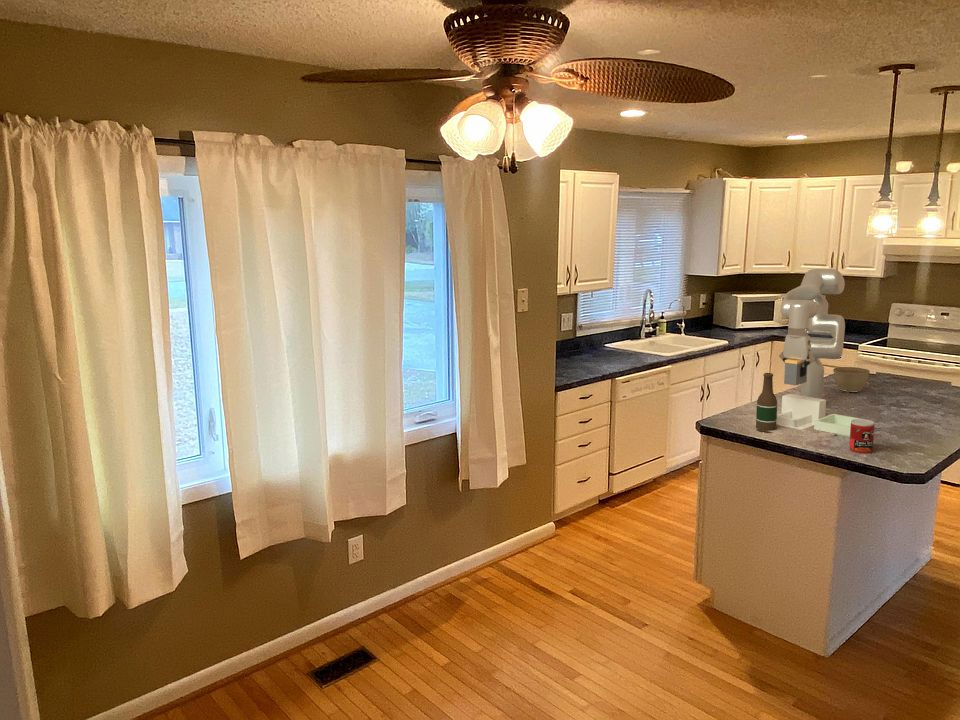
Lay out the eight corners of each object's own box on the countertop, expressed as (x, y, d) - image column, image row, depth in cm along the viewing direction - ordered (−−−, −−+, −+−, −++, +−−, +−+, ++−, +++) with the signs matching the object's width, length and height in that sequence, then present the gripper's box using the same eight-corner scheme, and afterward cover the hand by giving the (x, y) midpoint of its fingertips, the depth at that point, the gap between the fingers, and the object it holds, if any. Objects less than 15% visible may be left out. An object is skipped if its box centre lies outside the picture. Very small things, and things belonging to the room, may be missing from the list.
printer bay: (788, 415, 303) (789, 393, 301) (824, 422, 290) (826, 399, 289) (764, 424, 290) (765, 401, 289) (801, 432, 278) (803, 408, 276)
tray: (832, 424, 288) (832, 413, 287) (867, 430, 277) (868, 419, 277) (813, 431, 278) (814, 420, 277) (849, 438, 267) (850, 427, 267)
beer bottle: (780, 431, 280) (783, 373, 276) (767, 434, 276) (770, 376, 272) (764, 426, 287) (766, 370, 283) (751, 429, 283) (753, 373, 279)
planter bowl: (825, 390, 348) (826, 369, 346) (845, 386, 355) (846, 365, 354) (855, 396, 334) (856, 374, 332) (875, 391, 341) (877, 370, 340)
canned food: (853, 453, 250) (855, 424, 248) (845, 446, 258) (847, 418, 256) (876, 454, 249) (878, 424, 247) (867, 447, 256) (869, 418, 255)
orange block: (794, 380, 291) (795, 357, 289) (806, 382, 287) (808, 358, 285) (783, 383, 286) (784, 360, 284) (795, 385, 282) (797, 361, 280)
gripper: (823, 333, 278) (820, 376, 281) (782, 329, 291) (780, 371, 295) (814, 335, 274) (811, 379, 277) (773, 331, 287) (771, 373, 290)
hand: (795, 374), depth 286 cm, fingers closed on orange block, 5 cm apart
